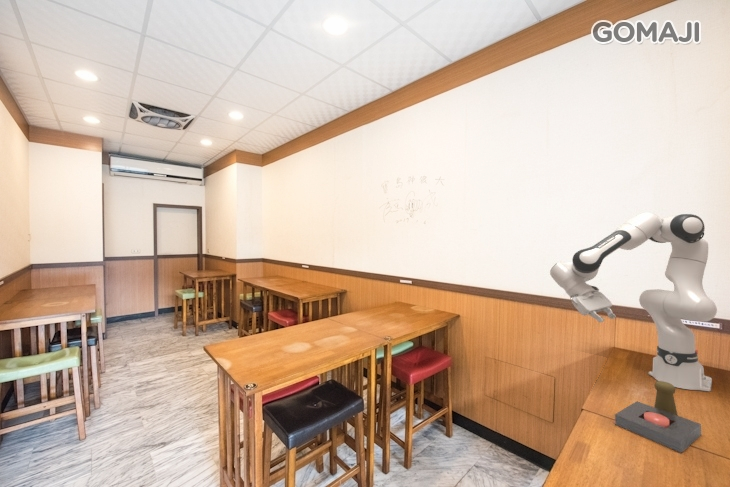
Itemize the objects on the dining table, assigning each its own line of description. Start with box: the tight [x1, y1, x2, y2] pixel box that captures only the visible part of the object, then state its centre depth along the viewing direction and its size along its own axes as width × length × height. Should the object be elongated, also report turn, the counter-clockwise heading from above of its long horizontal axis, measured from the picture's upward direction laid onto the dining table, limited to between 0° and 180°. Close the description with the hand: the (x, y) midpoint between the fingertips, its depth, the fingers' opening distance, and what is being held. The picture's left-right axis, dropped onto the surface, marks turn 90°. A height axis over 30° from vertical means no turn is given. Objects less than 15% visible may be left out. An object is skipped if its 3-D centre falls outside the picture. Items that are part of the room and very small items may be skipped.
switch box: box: [614, 400, 702, 454], centre depth 98 cm, size 16×16×4 cm
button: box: [644, 412, 670, 428], centre depth 98 cm, size 6×6×4 cm
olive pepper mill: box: [654, 380, 679, 416], centre depth 107 cm, size 6×6×11 cm
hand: (608, 319), depth 124 cm, fingers open, 8 cm apart
